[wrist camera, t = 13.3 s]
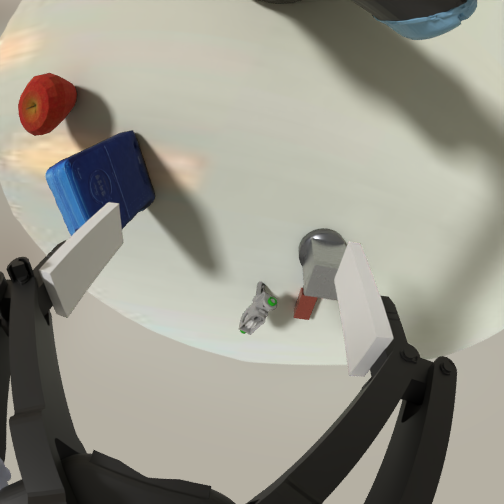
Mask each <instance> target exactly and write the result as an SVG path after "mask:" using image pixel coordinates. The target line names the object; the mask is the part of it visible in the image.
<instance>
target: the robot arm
mask: <svg viewBox="0 0 504 504" xmlns="http://www.w3.org/2000/svg"><path fill="white" fill-rule="evenodd" d="M260 1H264V2H269V3H292V2H297V1H301V0H260ZM351 1H353V2H354V3H356V4H357V5H359V6H360V7H362V8H363V9H365V10H366V11H368V12H369V13H371V14H372V16H373V17H374V18H375V19H376V20H377V21H380V22H382V23H384V24H386V25H387V26H389V27H390V28H391V29H393V30H394V31H395V32H397V33H398V34H400V35H401V36H403V37H406V38H409V39H412V40H424V39H430V38H433V37H437V36H439V35H442V34H444V33H447V32H449V31H451V30H452V29H454V28H456V27H458V26H459V25H460V24H461V21H462V20H465V19H468V18H469V17H470V16H471V15H472V14H473V13H474V11H475V10H476V7H477V0H351ZM123 243H124V242H123V235H122V227H121V218H120V209H119V203H111V202H108V203H107V204H106V205H105V206H104V207H102V208H101V209H100V210H99V211H98V212H97V213H96V214H94V215H93V216H92V217H91V218H90V219H89V220H88V221H87V222H86V223H85V224H83V225H82V226H81V227H80V228H79V229H78V230H77V231H76V232H75V233H74V234H73V235H72V236H71V237H70V238H69V239H68V240H67V241H66V240H65V241H63V242H61V243H60V244H58V245H57V246H56V247H55V248H54V249H53V250H52V251H51V252H50V253H49V254H48V255H47V257H45V258H44V259H43V260H42V261H41V262H40V263H39V264H38V265H37V266H36V267H35V269H34V270H32V267H31V264H30V262H29V259H27V258H26V257H19V258H16V259H15V260H13V261H12V262H11V263H10V264H9V265H8V266H7V271H8V274H9V276H10V278H11V280H6V279H5V277H4V274H3V273H2V272H0V504H235V503H234V502H233V501H232V500H231V499H229V498H228V497H226V496H225V495H223V494H221V493H219V492H217V491H215V490H212V489H211V486H208V485H203V484H198V483H193V482H189V481H184V480H180V479H158V478H148V477H145V476H143V475H141V474H140V473H138V472H136V471H135V470H133V469H132V468H130V467H129V466H127V465H125V464H124V463H122V462H121V461H119V460H117V459H114V458H111V457H109V456H107V455H104V454H102V453H100V452H97V451H95V450H94V451H93V453H92V454H87V453H86V451H85V448H84V447H83V445H82V443H81V441H80V440H79V438H78V437H77V435H76V432H75V429H74V426H73V423H72V420H71V416H70V413H69V409H68V406H67V402H66V398H65V394H64V389H63V385H62V381H61V376H60V371H59V366H58V360H57V355H56V348H55V342H54V334H53V326H52V316H51V313H50V309H51V307H52V306H53V307H54V309H55V311H56V313H57V314H58V315H61V316H64V317H66V318H68V317H69V315H70V314H71V313H72V311H73V310H74V308H75V307H76V305H77V304H78V302H79V301H80V300H81V298H82V297H83V295H84V294H85V292H86V291H87V290H88V288H89V287H90V286H91V284H92V283H93V282H94V280H95V279H96V278H97V276H98V275H99V274H100V272H101V271H102V270H103V268H104V267H105V266H106V264H107V263H108V262H109V261H110V259H111V258H112V257H113V256H114V254H115V253H116V252H117V251H118V249H119V248H120V247H121V246H122V244H123ZM334 282H335V287H336V293H337V298H338V304H339V310H340V316H341V322H342V328H343V335H344V342H345V349H346V356H347V364H348V372H349V376H365V375H366V373H368V371H369V370H370V371H371V376H372V377H371V378H370V379H369V380H368V382H367V383H366V384H365V385H364V386H363V387H362V390H361V391H360V392H359V393H358V395H357V396H356V397H355V399H354V400H353V401H352V402H351V403H350V405H349V406H348V407H347V409H346V410H345V411H344V412H343V413H342V414H341V415H340V417H339V418H338V419H337V420H336V421H335V422H334V423H333V425H332V426H331V427H330V428H329V429H328V430H327V431H326V432H325V433H324V435H323V436H322V437H321V438H320V439H319V440H318V441H317V442H316V443H315V444H314V445H313V446H312V447H311V448H310V449H309V450H308V451H307V452H306V453H305V454H304V455H303V456H302V457H301V458H300V459H299V460H298V461H297V462H296V463H295V464H294V465H293V466H292V467H291V468H289V469H288V470H287V471H286V472H285V473H284V474H283V475H282V476H281V477H280V478H278V479H277V480H276V481H275V482H274V483H272V484H271V485H270V486H269V487H267V488H266V489H265V490H263V491H262V492H261V493H259V494H258V495H257V496H255V497H254V498H253V499H252V500H250V501H249V502H248V503H246V504H322V503H323V501H324V500H325V499H326V498H327V497H328V496H329V495H330V494H331V493H332V492H333V491H334V490H335V488H336V487H337V486H338V485H339V484H340V483H341V482H342V480H343V479H344V478H345V477H346V476H347V475H348V473H349V472H350V471H351V470H352V468H353V467H354V466H355V465H356V463H357V462H358V461H359V460H360V458H361V457H362V456H363V454H364V453H365V452H366V450H367V449H368V448H369V446H370V445H371V444H372V442H373V441H374V439H375V438H376V437H377V435H378V434H379V432H380V431H381V429H382V428H383V426H384V425H385V423H386V422H387V420H388V419H389V417H390V415H391V414H392V412H393V411H394V409H395V407H396V406H397V404H398V402H399V400H400V399H402V404H401V408H400V411H399V415H398V418H397V421H396V425H395V428H394V431H393V434H392V437H391V440H390V443H389V445H388V449H387V451H386V454H385V456H384V459H383V462H382V464H381V467H380V469H379V471H378V474H377V476H376V479H375V481H374V483H373V486H372V488H371V490H370V492H369V494H368V496H367V498H366V500H365V503H364V504H432V502H433V499H434V496H435V493H436V489H437V486H438V483H439V479H440V476H441V472H442V468H443V464H444V460H445V456H446V451H447V447H448V442H449V437H450V431H451V425H452V418H453V411H454V403H455V393H456V381H457V369H456V367H455V365H454V363H453V362H452V361H451V360H450V359H448V358H447V357H443V356H442V357H438V358H437V359H436V360H435V361H434V362H431V361H428V360H425V359H422V358H420V355H419V353H418V351H417V350H416V349H415V348H414V347H413V346H412V345H410V344H408V343H407V340H406V337H405V333H404V330H403V327H402V324H401V321H400V318H399V315H398V314H397V310H396V307H395V304H394V303H393V302H392V301H391V299H390V298H389V297H386V296H380V293H379V290H378V287H377V284H376V282H375V279H374V276H373V273H372V270H371V268H370V265H369V262H368V260H367V257H366V254H365V252H364V249H363V247H362V244H361V243H356V242H351V241H349V242H348V244H347V247H346V250H345V253H344V255H343V258H342V261H341V263H340V266H339V268H338V271H337V274H336V276H335V279H334ZM10 375H11V385H12V395H13V403H14V410H15V414H14V416H12V417H10V419H9V426H10V432H11V437H12V442H13V446H14V450H15V455H16V459H17V462H18V465H19V470H20V472H21V476H22V480H20V481H17V482H15V483H13V484H11V485H8V483H7V481H9V480H10V478H11V473H10V471H9V469H8V468H6V467H5V465H4V461H5V452H6V421H7V418H6V417H7V402H8V401H7V400H8V391H9V381H10Z"/></svg>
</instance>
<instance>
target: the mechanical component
mask: <svg viewBox="0 0 504 504" xmlns="http://www.w3.org/2000/svg"><path fill="white" fill-rule="evenodd" d="M262 284H263V283H262V282H259V283H258V284H257V292H256V296H255V297H254V298H253V303H252V304H251V305H250V306H249V307H248V308H247V309H246V310H245V312H244V313H243V314H242V317H241V320H240V324H239V330H240V331H241V333H243V334H245V333H248V334H250V335H251V334H252V333H253V332H254V331H255V330H256V329H257V328H258V327H260V326H261V325H262V324H264V323H265V318H266V317H267V316H268V312H269V311H270V310H274V309H275V308H276V307H277V298H275V297H273V296H271V295H269V294H267V293H266V292H264V290H265V284H264V285H263V286H262ZM261 286H262V287H261ZM254 327H255V328H254Z"/></svg>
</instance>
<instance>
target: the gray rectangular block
mask: <svg viewBox="0 0 504 504" xmlns="http://www.w3.org/2000/svg"><path fill="white" fill-rule="evenodd" d="M345 250H346V245H345V244H343V243H338V242H332V241H327V240H322V239H316V238H311V239H310V243H309V246H308V250H307V253H306V257H305V260H304V263H303V280H304V295H305V296H311V297H318V298H325V299H332V300H338V298H337V293H336V287H335V282H334V279H335V276H336V274H337V271H338V268H339V266H340V263H341V261H342V258H343V255H344V253H345Z"/></svg>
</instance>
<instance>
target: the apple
mask: <svg viewBox="0 0 504 504" xmlns="http://www.w3.org/2000/svg"><path fill="white" fill-rule="evenodd" d="M76 98H77V92H76V89H75V87H74V85H73V84H72V83H70V82H69V81H67V80H65V79H63V78H61V77H59V76H57V75H54V74H51V73H47V74H43V75H39V76H35V77H33V78H32V80H31V81H30V82H29V83H28V84H27V86H26V88H25V89H24V91H23V93H22V95H21V97H20V100H19V104H18V110H19V117H20V121H21V123H22V125H23V127H24V128H25V130H26V131H27V132H29V133H31V134H33V135H35V136H36V135H43V134H47V133H50V132H51V131H52V130H53V129H54V128H56V127H57V126H58V125H59V124H60V123H61V122H62V121H63V120H64V119H65V117H66V116H67V115H68V114H69V112H70V111H71V110H72V108H73V107H74V105H75V102H76Z"/></svg>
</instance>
